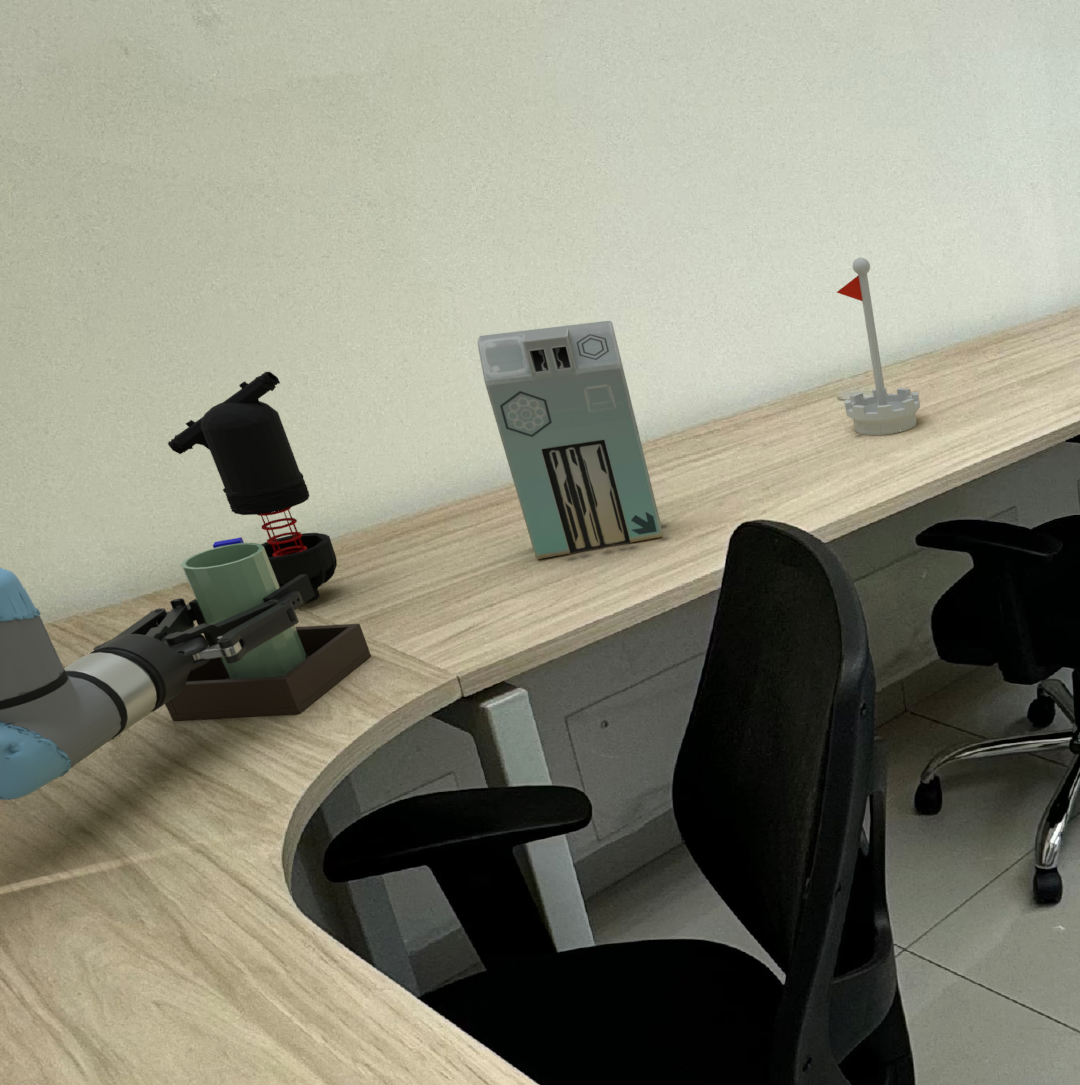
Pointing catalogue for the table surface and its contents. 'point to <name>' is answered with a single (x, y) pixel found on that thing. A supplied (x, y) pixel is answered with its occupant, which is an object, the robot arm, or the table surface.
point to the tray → (274, 679)
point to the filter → (261, 477)
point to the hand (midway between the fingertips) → (272, 587)
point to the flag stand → (877, 375)
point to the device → (570, 437)
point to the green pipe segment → (242, 604)
